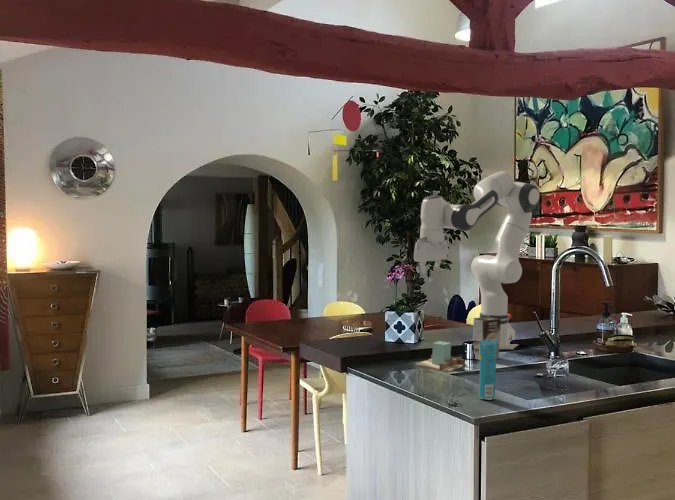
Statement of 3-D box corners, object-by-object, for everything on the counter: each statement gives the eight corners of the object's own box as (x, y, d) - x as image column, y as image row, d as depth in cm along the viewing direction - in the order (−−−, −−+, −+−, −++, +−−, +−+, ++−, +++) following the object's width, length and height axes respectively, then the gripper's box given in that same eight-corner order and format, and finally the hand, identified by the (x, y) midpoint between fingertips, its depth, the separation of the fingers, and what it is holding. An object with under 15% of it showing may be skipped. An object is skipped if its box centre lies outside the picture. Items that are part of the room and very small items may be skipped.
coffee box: (482, 361, 280) (484, 320, 279) (471, 357, 285) (472, 318, 284) (499, 358, 285) (501, 319, 284) (487, 355, 291) (489, 316, 289)
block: (438, 361, 275) (439, 341, 274) (450, 363, 272) (451, 343, 271) (432, 363, 271) (432, 343, 270) (443, 366, 268) (444, 345, 267)
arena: (434, 359, 281) (434, 353, 281) (466, 365, 273) (466, 359, 273) (415, 365, 270) (415, 359, 270) (448, 372, 262) (448, 365, 262)
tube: (487, 395, 233) (490, 337, 231) (499, 398, 229) (502, 339, 227) (472, 399, 228) (475, 339, 226) (484, 402, 224) (487, 342, 223)
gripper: (424, 238, 270) (423, 274, 272) (451, 236, 287) (449, 270, 288) (410, 237, 274) (409, 273, 275) (437, 235, 290) (436, 269, 292)
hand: (430, 272), depth 282 cm, fingers open, 8 cm apart
